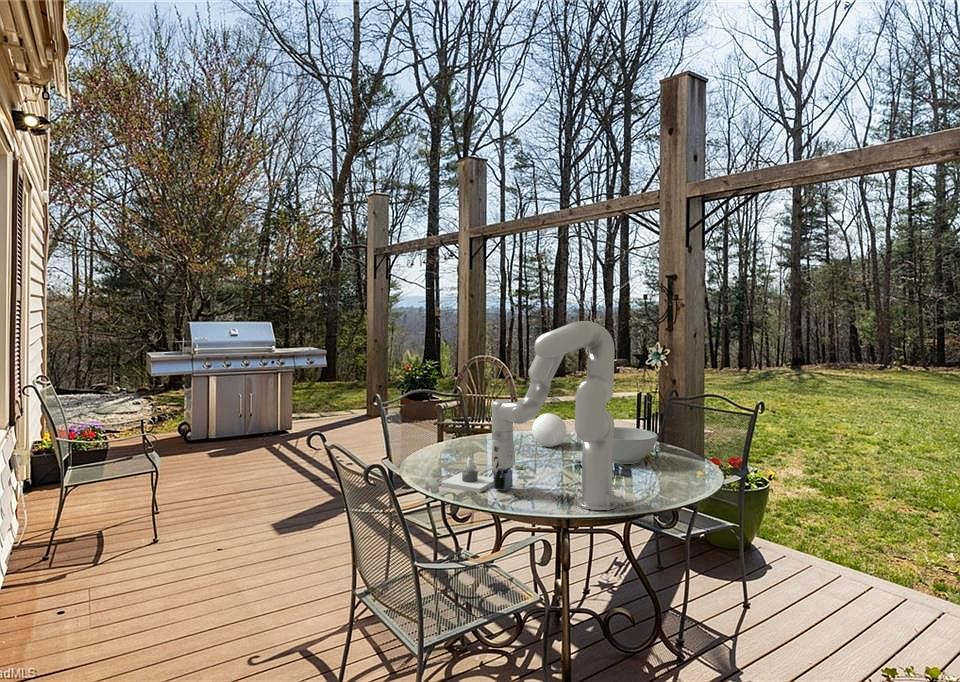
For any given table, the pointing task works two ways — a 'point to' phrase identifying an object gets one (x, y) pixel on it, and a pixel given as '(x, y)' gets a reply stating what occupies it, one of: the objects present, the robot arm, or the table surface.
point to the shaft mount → (469, 480)
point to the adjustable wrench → (516, 466)
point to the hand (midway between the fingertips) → (503, 485)
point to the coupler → (506, 479)
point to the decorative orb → (549, 430)
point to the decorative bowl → (632, 444)
